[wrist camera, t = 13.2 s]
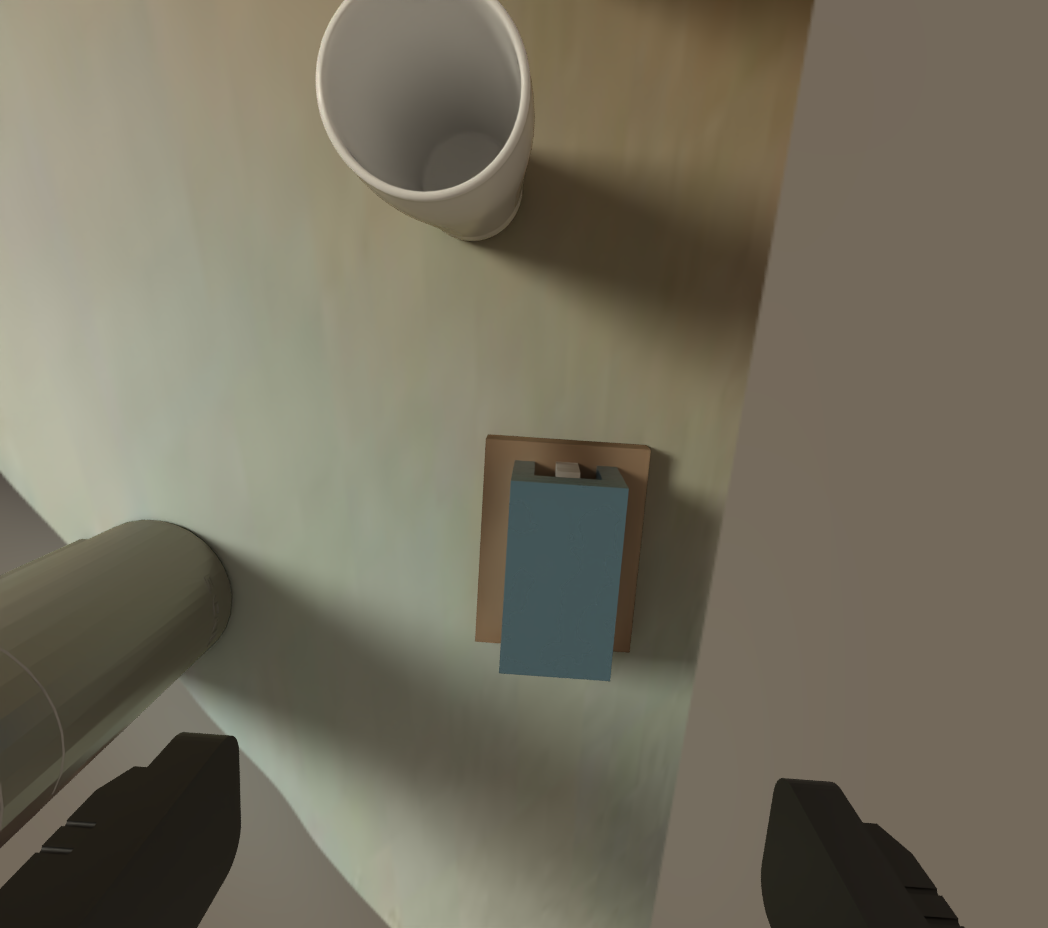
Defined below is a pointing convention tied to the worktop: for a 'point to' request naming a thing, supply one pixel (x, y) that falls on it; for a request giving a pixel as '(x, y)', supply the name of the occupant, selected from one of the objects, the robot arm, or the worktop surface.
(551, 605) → the block
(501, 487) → the rail stand
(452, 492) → the worktop surface
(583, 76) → the worktop surface
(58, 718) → the robot arm
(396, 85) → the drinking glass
